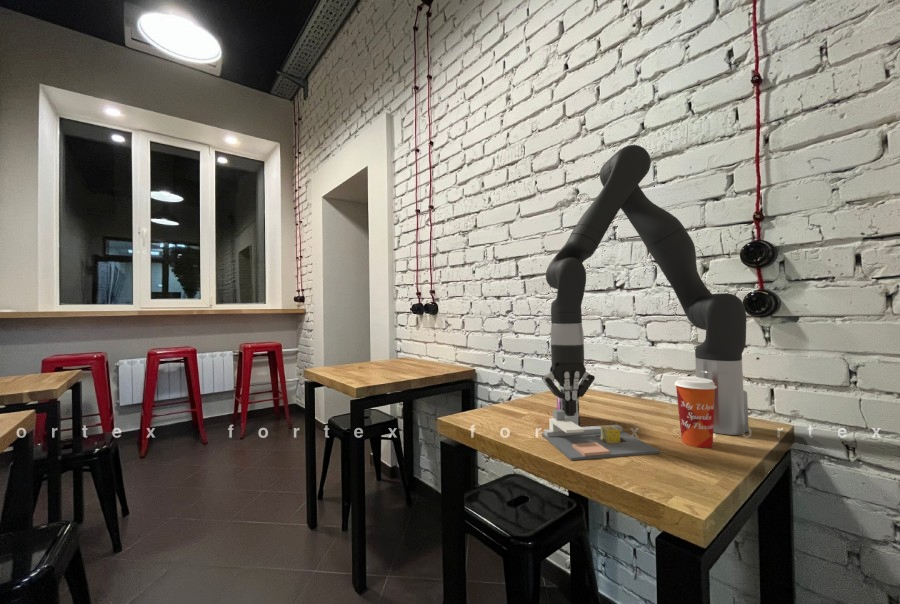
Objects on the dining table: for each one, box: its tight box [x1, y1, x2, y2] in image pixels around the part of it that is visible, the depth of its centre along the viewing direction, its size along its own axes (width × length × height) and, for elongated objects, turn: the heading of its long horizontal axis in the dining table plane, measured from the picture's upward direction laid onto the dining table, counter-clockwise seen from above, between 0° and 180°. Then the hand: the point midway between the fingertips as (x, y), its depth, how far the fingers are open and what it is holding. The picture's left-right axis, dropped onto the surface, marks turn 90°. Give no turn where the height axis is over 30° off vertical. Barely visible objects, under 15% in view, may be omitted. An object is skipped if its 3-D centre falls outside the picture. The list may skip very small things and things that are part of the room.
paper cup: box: [673, 376, 717, 449], centre depth 78 cm, size 8×8×14 cm
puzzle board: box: [541, 424, 661, 461], centre depth 79 cm, size 20×15×2 cm
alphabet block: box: [600, 425, 621, 443], centre depth 81 cm, size 3×3×3 cm
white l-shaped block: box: [548, 408, 584, 433], centre depth 81 cm, size 4×9×5 cm, turn 8°
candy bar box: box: [555, 380, 581, 427], centre depth 96 cm, size 11×5×16 cm, turn 168°
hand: (569, 415), depth 84 cm, fingers closed
